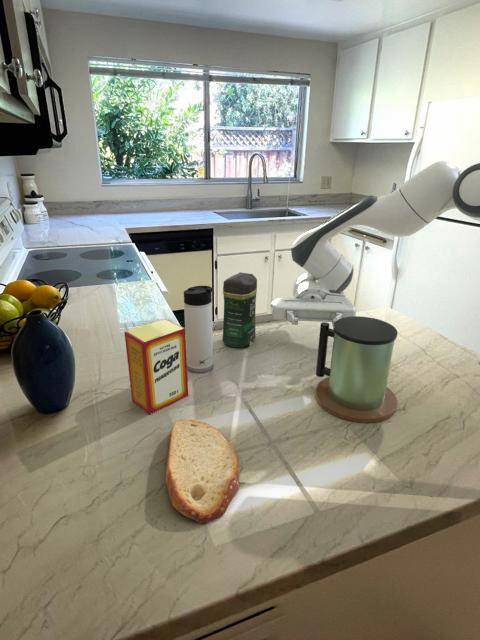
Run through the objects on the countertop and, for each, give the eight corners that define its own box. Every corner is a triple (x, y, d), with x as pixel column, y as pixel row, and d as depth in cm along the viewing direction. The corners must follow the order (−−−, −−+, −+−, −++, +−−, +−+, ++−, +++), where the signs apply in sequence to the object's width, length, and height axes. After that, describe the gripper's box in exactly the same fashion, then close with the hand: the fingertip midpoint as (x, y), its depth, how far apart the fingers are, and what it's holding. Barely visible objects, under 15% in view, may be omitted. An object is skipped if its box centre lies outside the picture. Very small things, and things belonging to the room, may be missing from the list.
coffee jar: (246, 351, 104) (247, 282, 97) (218, 345, 107) (218, 278, 99) (259, 336, 112) (261, 272, 105) (233, 331, 115) (233, 268, 108)
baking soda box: (169, 383, 89) (165, 317, 83) (188, 395, 85) (184, 326, 78) (132, 401, 83) (124, 330, 77) (149, 414, 78) (142, 340, 72)
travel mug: (208, 375, 92) (206, 293, 85) (182, 370, 94) (178, 289, 87) (218, 362, 98) (217, 284, 90) (193, 358, 100) (190, 281, 92)
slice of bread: (185, 421, 77) (184, 404, 75) (269, 454, 68) (270, 437, 67) (114, 482, 62) (111, 463, 61) (209, 534, 54) (209, 514, 53)
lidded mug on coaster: (335, 368, 93) (342, 304, 87) (409, 398, 82) (424, 327, 76) (293, 396, 83) (298, 325, 77) (373, 434, 72) (386, 356, 65)
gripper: (271, 289, 105) (270, 308, 92) (351, 292, 103) (361, 311, 91) (270, 311, 107) (269, 333, 95) (348, 315, 106) (358, 337, 93)
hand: (315, 322), depth 93 cm, fingers open, 8 cm apart
